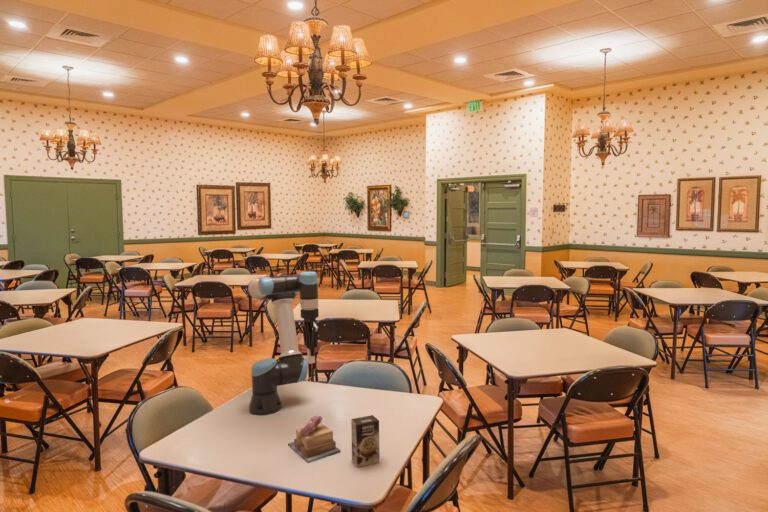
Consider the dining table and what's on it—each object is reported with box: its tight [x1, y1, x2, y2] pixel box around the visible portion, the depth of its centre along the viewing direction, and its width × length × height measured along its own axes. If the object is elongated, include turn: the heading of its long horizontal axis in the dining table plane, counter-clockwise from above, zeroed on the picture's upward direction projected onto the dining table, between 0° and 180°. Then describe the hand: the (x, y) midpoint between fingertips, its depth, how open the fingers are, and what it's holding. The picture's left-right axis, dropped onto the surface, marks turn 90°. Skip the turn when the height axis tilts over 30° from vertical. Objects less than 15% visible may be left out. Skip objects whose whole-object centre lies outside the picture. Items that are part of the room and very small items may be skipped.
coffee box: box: [350, 414, 381, 468], centre depth 183 cm, size 9×6×16 cm
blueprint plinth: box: [287, 422, 341, 464], centre depth 194 cm, size 18×14×8 cm
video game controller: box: [300, 414, 323, 435], centre depth 192 cm, size 10×5×7 cm, turn 162°
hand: (311, 362), depth 210 cm, fingers closed
